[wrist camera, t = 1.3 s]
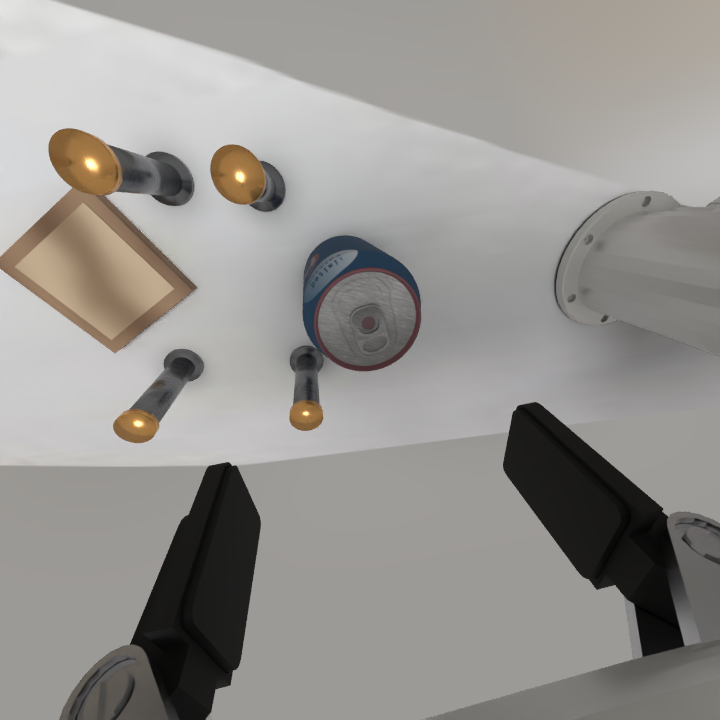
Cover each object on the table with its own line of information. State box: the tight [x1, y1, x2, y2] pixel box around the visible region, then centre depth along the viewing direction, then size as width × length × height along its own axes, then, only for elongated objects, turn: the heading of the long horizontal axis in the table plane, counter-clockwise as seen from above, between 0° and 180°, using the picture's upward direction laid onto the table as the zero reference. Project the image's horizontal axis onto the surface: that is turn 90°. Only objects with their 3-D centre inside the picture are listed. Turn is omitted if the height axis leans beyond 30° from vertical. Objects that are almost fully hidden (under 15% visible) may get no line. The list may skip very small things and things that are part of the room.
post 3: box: [210, 145, 285, 211], centre depth 18 cm, size 3×3×9 cm
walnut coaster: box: [0, 188, 197, 353], centre depth 22 cm, size 9×9×1 cm
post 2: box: [113, 349, 204, 443], centre depth 23 cm, size 3×3×9 cm
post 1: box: [49, 128, 194, 206], centre depth 16 cm, size 3×3×9 cm
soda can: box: [303, 236, 421, 371], centre depth 20 cm, size 7×7×12 cm
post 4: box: [290, 346, 323, 431], centre depth 25 cm, size 3×3×9 cm
